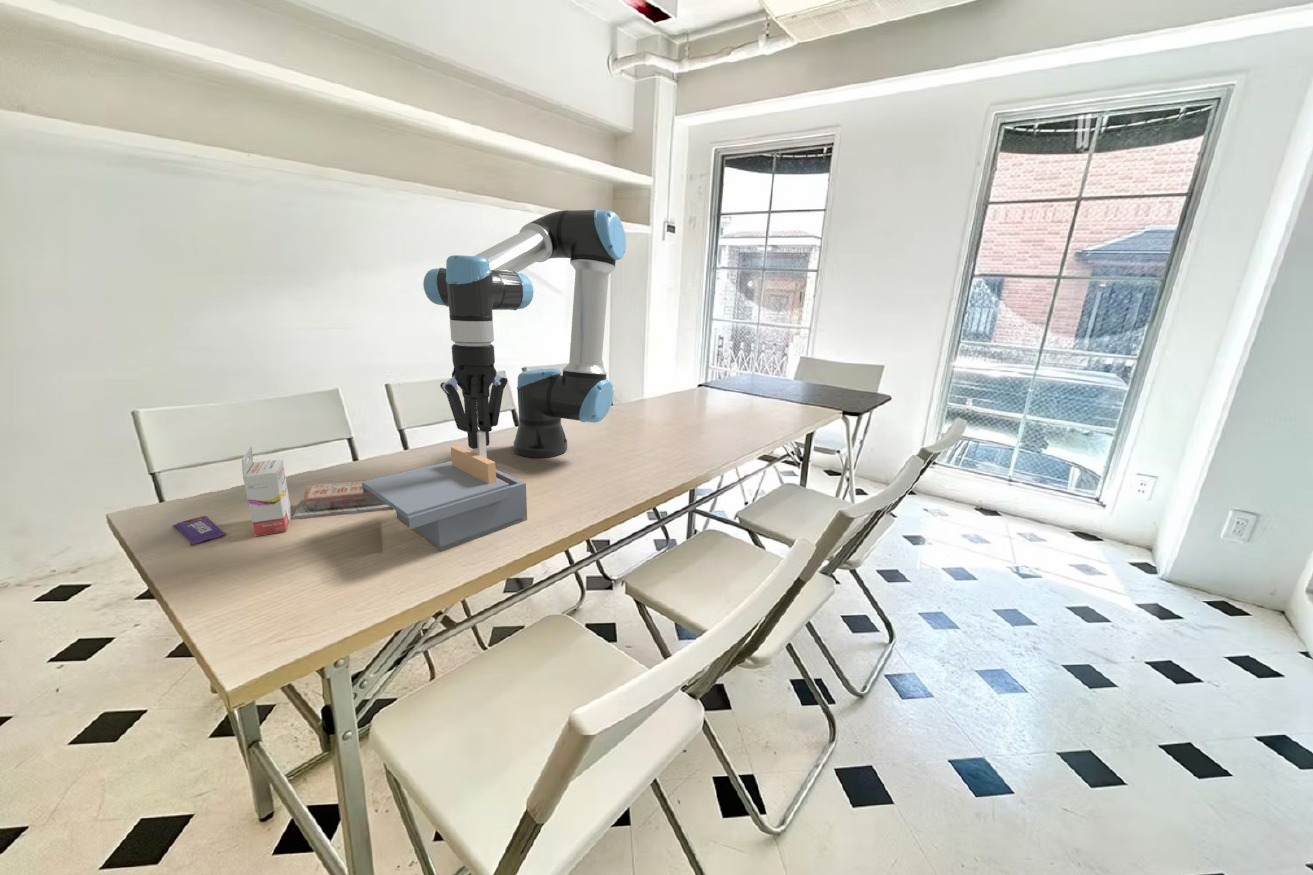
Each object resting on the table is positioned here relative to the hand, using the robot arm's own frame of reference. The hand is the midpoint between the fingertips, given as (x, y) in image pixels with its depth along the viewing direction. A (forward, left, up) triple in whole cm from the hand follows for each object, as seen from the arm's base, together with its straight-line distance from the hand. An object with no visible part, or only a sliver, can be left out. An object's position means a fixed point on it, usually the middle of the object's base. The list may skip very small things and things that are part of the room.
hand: (480, 462), depth 100 cm
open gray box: (+4, 0, -11) cm, 12 cm away
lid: (+9, 0, -4) cm, 10 cm away
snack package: (+40, -28, -12) cm, 51 cm away
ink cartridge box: (+30, -22, -11) cm, 39 cm away
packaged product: (+17, -23, -12) cm, 31 cm away
